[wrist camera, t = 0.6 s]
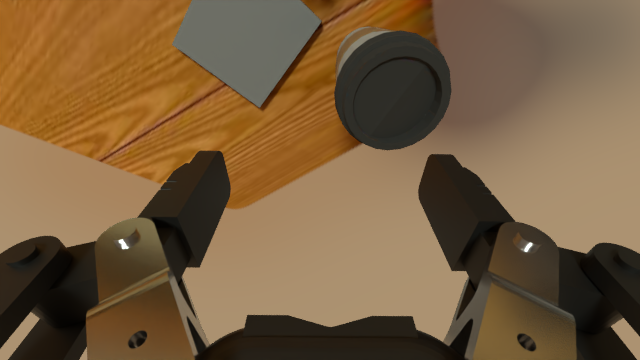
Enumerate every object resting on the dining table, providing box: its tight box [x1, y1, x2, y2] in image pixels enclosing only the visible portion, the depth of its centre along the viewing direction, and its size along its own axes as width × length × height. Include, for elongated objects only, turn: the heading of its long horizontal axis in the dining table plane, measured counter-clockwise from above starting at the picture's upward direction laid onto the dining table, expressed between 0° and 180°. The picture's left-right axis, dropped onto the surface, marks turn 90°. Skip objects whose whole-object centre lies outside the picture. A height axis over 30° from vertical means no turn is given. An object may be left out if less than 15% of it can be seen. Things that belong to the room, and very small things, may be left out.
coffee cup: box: [334, 27, 451, 150], centre depth 24 cm, size 8×8×15 cm
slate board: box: [172, 0, 322, 108], centre depth 28 cm, size 12×11×1 cm
